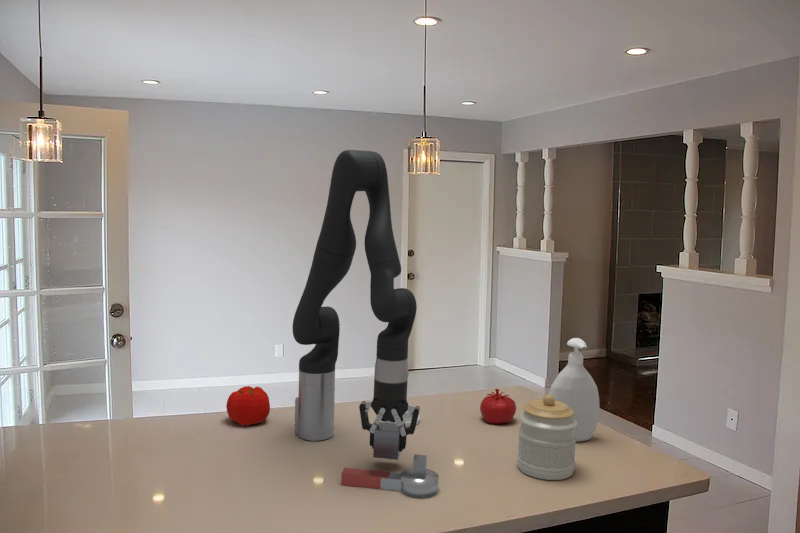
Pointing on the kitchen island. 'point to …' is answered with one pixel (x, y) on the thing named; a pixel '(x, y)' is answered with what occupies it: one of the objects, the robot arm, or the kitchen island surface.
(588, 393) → the soap bottle
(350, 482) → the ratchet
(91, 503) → the kitchen island surface
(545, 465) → the jar
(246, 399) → the tomato
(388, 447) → the brushed metal cube
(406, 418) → the mechanical component
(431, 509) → the kitchen island surface
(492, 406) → the pomegranate
